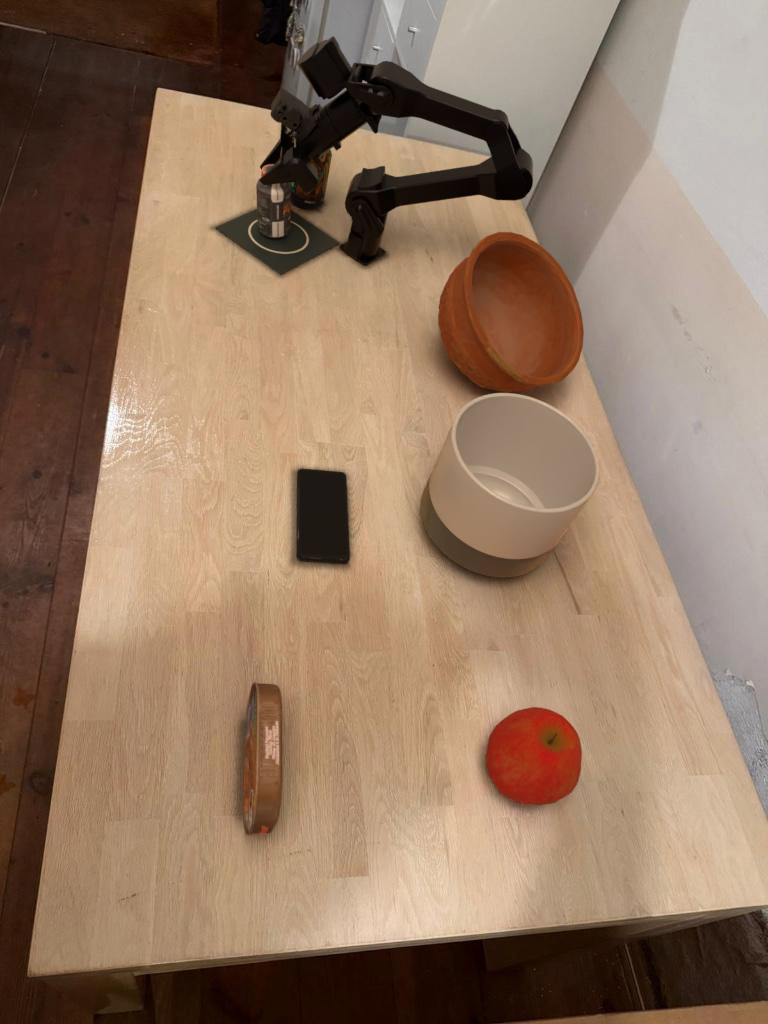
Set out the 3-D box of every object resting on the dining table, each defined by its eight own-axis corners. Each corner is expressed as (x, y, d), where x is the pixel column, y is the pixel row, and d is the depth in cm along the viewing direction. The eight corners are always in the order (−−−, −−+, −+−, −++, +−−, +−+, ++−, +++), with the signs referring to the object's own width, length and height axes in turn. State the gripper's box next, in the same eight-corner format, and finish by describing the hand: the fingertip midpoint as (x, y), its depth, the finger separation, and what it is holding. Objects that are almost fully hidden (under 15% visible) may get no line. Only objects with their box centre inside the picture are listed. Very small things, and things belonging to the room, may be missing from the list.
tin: (246, 700, 83) (252, 668, 76) (274, 700, 84) (283, 669, 77) (241, 844, 74) (248, 822, 67) (273, 843, 75) (283, 821, 68)
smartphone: (296, 558, 94) (297, 467, 103) (296, 561, 95) (296, 471, 104) (350, 561, 96) (346, 471, 105) (349, 564, 96) (345, 475, 105)
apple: (576, 799, 85) (619, 770, 76) (498, 826, 81) (535, 798, 73) (538, 715, 90) (574, 679, 82) (463, 736, 86) (493, 701, 78)
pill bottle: (289, 239, 134) (289, 180, 124) (256, 237, 133) (254, 177, 124) (291, 220, 137) (291, 161, 128) (258, 218, 136) (256, 158, 127)
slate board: (276, 201, 142) (276, 199, 142) (339, 244, 138) (339, 242, 138) (215, 228, 133) (215, 226, 133) (281, 275, 129) (281, 273, 129)
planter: (438, 597, 97) (482, 518, 83) (398, 481, 107) (431, 394, 93) (566, 580, 103) (626, 504, 89) (516, 472, 113) (564, 389, 100)
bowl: (385, 350, 117) (444, 313, 104) (440, 243, 127) (499, 197, 115) (494, 440, 126) (560, 416, 114) (537, 334, 137) (601, 301, 124)
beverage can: (316, 216, 142) (326, 156, 133) (282, 203, 142) (289, 142, 133) (328, 199, 147) (338, 139, 137) (294, 186, 147) (303, 126, 137)
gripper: (303, 52, 120) (230, 109, 127) (306, 108, 109) (226, 167, 116) (343, 109, 128) (273, 161, 134) (349, 167, 117) (272, 220, 123)
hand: (261, 175), depth 127 cm, fingers closed on pill bottle, 4 cm apart
